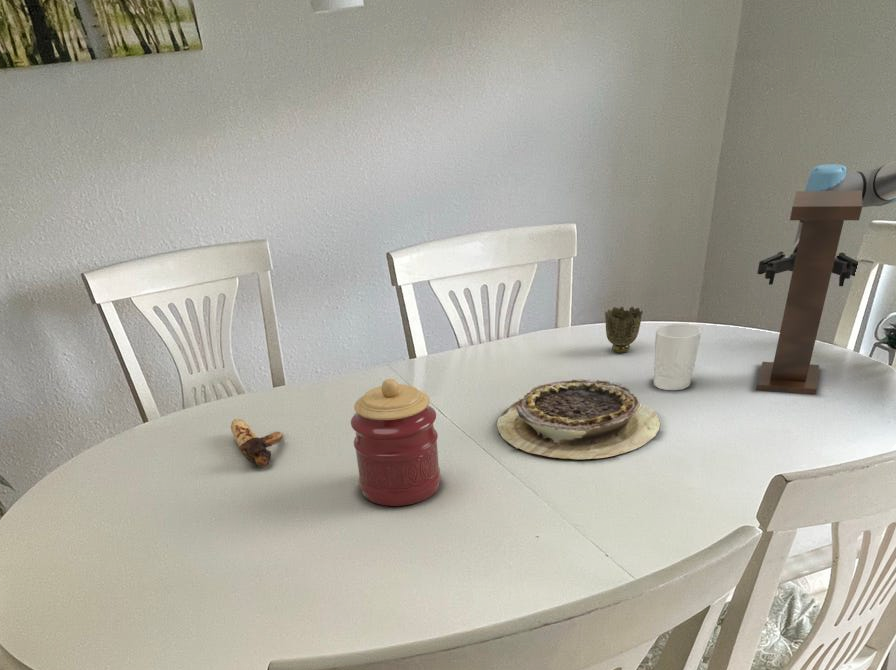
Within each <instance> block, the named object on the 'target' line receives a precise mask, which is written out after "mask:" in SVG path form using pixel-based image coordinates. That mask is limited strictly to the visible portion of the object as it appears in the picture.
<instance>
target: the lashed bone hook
mask: <svg viewBox="0 0 896 670" xmlns="http://www.w3.org/2000/svg"><path fill="white" fill-rule="evenodd" d="M230 431H231V433H232V435H233V438H234V440H235V442H236V444H237V445H238V449H239V451H241V452H242V453H243V454H244V455H245V456H246V457H247V459H248V460H250V461H251V462H253V463H254V464H255V465H256V466H258V467H261V468H263V467H267V466H268V465H270V461H271V456H272V451H271V450H268V449H267V448H268V447H269V448H270V447H272V446H273V445H276V444H278V443H279V442H280V441H281V440H282V439H283V433H282V432H280V431H274V432H273V433H272V434H268V435H265V436H262V437H257V435H256V434H255V433H254V431H253V430H252V429H251V427H250V426H249V424H247V423H246V422H245V421H244V420H243V419H241V418H235V419H233V420H232V421H231V424H230Z"/></svg>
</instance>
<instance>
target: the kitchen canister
mask: <svg viewBox="0 0 896 670" xmlns="http://www.w3.org/2000/svg"><path fill="white" fill-rule="evenodd" d="M430 402H431V400H430V397H429V395H428V394H426V392H424V391H421V390H419V389H418V388H417V387H415V386H413V385H408V384H400V383H398V381H397V380H395V379H393V378H387V379H385V380H383V381H382V383H381V385H380V386H376V387H374V388H372V389H369V390H367V391H365V393H364V394H363V395H362V396H361V397H359V398H358V399H357V400H356V401H355V403H354V407H353V409H354V412H355V413H354V414H353V416H352V417H351V419H350V426H351V428H352V430H353V431H354V432H355V437H354V439H353V446H354V449H355V454H356V460H357V461H356V462H357V470H358V484H359V488H360V489H361V492H362V493H361V494H362V495H363V496H364V498H365V499H367V500H368V501H370V502H371V503H374V504H377V505H382V506H389V507H399V506H400V507H401V506H409V505H413V504H417V503H421V502H422V501H424V500H427V499H429V498H430V497H432V496H433V495H434V494H435V493H436V492H437V491H438V490H439V488H440V481H441V469H440V465H439V454H438V453H439V450H438V438H439V437H438V432H437V430H436V429H435V427H434V423H435V421H436V420H437V412H436V410H435V409H434V407H432V406H431V405H430Z"/></svg>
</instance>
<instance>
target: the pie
mask: <svg viewBox="0 0 896 670" xmlns="http://www.w3.org/2000/svg"><path fill="white" fill-rule="evenodd" d="M660 422H661V421H660V419H659V416H658V415H657V413H656V411H655V410H654V409H652V408H650V407H649V406H648V405H646V404H645V405H644V404H642V403H641V400H640V399H639V398H638V396H637V395H635V394H634V393H631V390H630V388H629V387H628V386H625V385H622V383H617V382H611V381H608V380H601V379H596V380H593V379H584V378H582V379H580V378H579V379H571V380H562V381H556V382H555V381H553V382H547V383H544V384H540V385H537V386H534V387H532V388H531V389H530V391H529V392H526V394H524V395H523V398H519V400H518V401H516V402H514V403H512V404H511V405H510V406H509V407H508V408H507V409H505V411H504V412H503V413H502V414H501V415H500V417H498V419H497V425H496V426H497V431H498V432H499V434H500V436H501V438H502V439H503V440H504V441H505V442H507V443H508V444H510V445H511V446H512V447H515V449H520V450H522V451H524V452H526V453H529V454H533V455H539V456H542V457H543V456H544V457H549V458H554V459H555V458H558V459H563V460H564V459H570V460H591V459H604V458H609V457H610V458H611V457H614V456H618V455H621V454H626V453H628V452H631V451H634V450H637V449H639V448H640V447H643V446H644V445H646V444H647V443H649V442H650V441H651V440H653V439H654V438H655V437H656V436H657V434H658V432H659V430H660V428H661V427H660V426H661V423H660Z"/></svg>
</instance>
